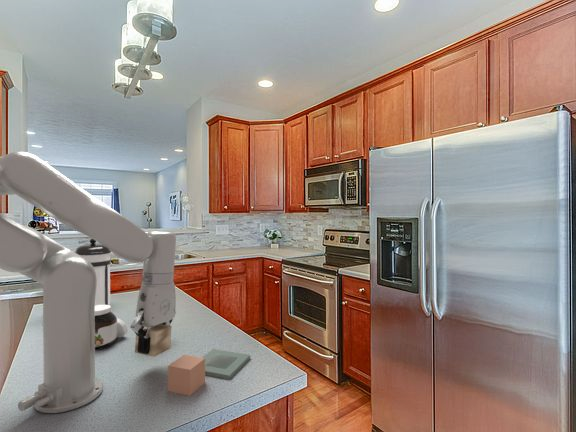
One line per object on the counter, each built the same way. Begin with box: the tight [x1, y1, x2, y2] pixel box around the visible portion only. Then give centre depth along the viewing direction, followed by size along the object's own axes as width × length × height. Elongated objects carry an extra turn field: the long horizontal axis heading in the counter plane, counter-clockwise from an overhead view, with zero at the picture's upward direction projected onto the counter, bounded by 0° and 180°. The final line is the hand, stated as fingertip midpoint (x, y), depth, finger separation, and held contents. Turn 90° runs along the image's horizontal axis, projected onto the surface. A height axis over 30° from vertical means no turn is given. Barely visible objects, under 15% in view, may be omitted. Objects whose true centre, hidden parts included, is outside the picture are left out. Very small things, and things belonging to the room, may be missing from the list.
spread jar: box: [95, 305, 128, 351], centre depth 101 cm, size 12×11×12 cm
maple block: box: [134, 324, 172, 358], centre depth 84 cm, size 6×6×6 cm
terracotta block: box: [167, 354, 206, 397], centre depth 77 cm, size 6×6×6 cm
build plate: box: [201, 348, 251, 380], centre depth 87 cm, size 12×12×1 cm
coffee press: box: [74, 238, 116, 306], centre depth 131 cm, size 17×16×30 cm
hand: (153, 347), depth 84 cm, fingers closed on maple block, 6 cm apart
